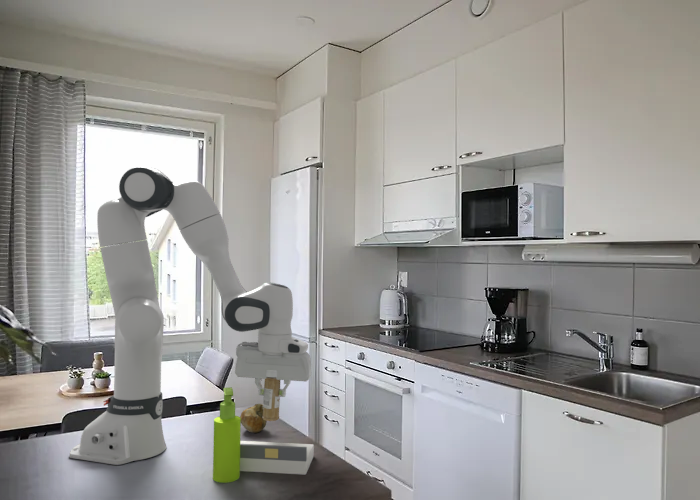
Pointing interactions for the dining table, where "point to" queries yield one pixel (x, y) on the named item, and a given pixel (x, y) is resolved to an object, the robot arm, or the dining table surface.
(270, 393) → the sprinkles bottle
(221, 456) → the soap dispenser
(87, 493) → the dining table surface
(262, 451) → the white slab
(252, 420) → the onion
